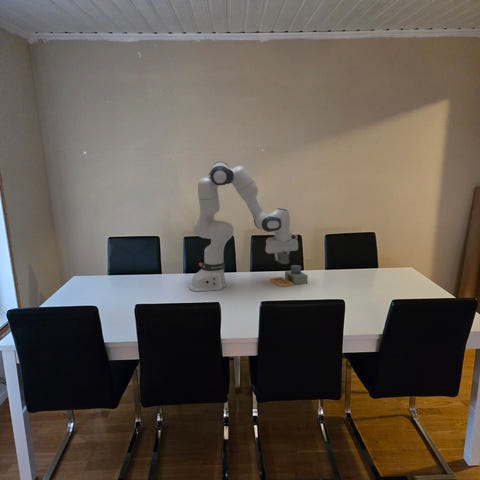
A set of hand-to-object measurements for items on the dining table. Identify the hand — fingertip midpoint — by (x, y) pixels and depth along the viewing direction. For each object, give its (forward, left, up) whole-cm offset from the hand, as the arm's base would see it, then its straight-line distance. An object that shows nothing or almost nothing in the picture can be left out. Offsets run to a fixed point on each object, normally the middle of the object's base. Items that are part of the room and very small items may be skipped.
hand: (281, 259), depth 226 cm
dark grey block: (0, 0, -2) cm, 2 cm away
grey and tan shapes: (+4, 0, -15) cm, 15 cm away
